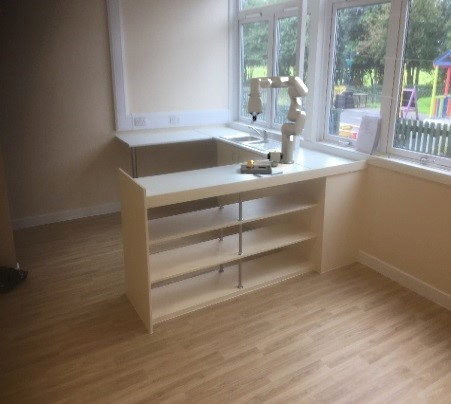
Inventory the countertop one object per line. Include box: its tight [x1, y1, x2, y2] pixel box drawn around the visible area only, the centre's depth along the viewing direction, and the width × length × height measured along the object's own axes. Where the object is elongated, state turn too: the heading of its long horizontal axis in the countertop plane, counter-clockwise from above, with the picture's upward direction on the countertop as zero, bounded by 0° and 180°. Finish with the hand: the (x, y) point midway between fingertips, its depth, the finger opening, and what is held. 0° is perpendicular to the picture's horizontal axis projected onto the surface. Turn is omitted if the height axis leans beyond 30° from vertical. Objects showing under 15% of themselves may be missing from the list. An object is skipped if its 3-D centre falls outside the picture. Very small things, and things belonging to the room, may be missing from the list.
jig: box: [240, 164, 273, 175], centre depth 310 cm, size 16×22×3 cm
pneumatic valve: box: [266, 150, 283, 168], centre depth 326 cm, size 6×12×12 cm, turn 92°
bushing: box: [246, 159, 254, 168], centre depth 310 cm, size 4×4×8 cm
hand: (254, 121), depth 310 cm, fingers closed
